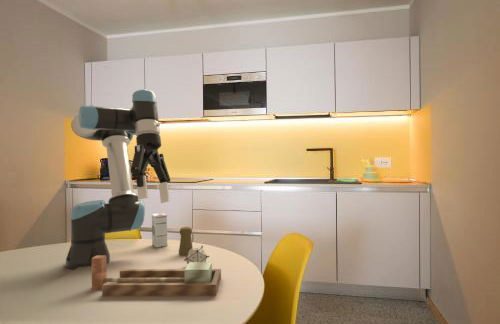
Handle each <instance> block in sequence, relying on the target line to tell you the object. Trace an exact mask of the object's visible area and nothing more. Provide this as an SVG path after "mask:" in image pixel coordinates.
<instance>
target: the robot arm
mask: <svg viewBox="0 0 500 324" xmlns="http://www.w3.org/2000/svg"><path fill="white" fill-rule="evenodd" d="M131 102H132V107H130V109H129V108H119V107H118V108H117V107H107V106H95V105H80V106H79V108H78V114H77V115H76V116H74V117H73V119H72V121H71V124H70V125H71V129H72V132H73V133H74V134H75V135H76V136H78V137H80V138H82V139H85V140H90V141H100V142H101V144H102V146H103V147H104V148H106V155H107V156H106V157H107V162H108V163H107V164H108V172H109V175H108V176H109V180H110V181H109V182H110V191H111V192H110V193H111V197H110V198H109V199H108V201H107V203H106V202H105V200H104V199H100V200H90V201H85V202H80V203H78V204H75V205H73V206H72V207H71V209H70V216H69V219H70V247H69V249H68V253H67V254H66V258H65V267H66V268H67V269H72V270H76V269H77V268H81V267H82V268H83V267H84V268H86V267H92V258H93V257H95V256H97V255H106V264H108V263H109V262H110V261H111V254H110V251H109V248H108V245H107V243H106V234H109V233H110V234H111V233H119V232H127V231H128V232H131V231H134V230H139V229H140V228H141V227H142V226H143V223H144V221H145V212H146V210H145V209H146V208H145V207H146V206H145V203H144V201H143V199H147V198H149V193H148V183H147V175H145V173H146V171H147V169H148V166H149V165H150V167H151V168H153V171H154V172H155V175H156V177H157V179H158V181H159V183H158V188H159V197H160V204H163V203H168V202H170V195H169V194H170V193H169V187H168V186H169V185H168V183H171V177H170V174H169V171H168V168H167V165H166V162H165V159H164V153H159V151H158V150H159V149H160V148H161V147H162V140H161V135H160V134H161V132H160V125H161V124H160V123H159V113H158V101H157V97H156V93H154V92H153V91H152V90H150V89H138V90H136V91H134V92H133V93H132V99H131ZM134 136H136V137H135V138H136V139H135V140H136V145H134V153H133V158H132V162H131V165H130V159H129V150H128V146H129V145H130V143H131V141H132V140H133V138H134ZM132 177H133V178H135V180H136V191H137V194H136V193H135V192H134V185H133V179H132Z"/></svg>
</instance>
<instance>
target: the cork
mask: <svg viewBox="0 0 500 324" xmlns="http://www.w3.org/2000/svg"><path fill="white" fill-rule="evenodd" d="M192 234H193V229H192V227H189V226H183V227H181V228H180V229H179V235H180V239H179V247H178V248H179V250H178V255H179V256H186V257H187V254H188V252H189V248H190V249H192V248H194V247H193V241H192ZM188 247H189V248H188Z"/></svg>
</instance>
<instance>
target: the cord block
mask: <svg viewBox="0 0 500 324" xmlns="http://www.w3.org/2000/svg"><path fill="white" fill-rule="evenodd" d="M107 264H108V263H106V255H97V256H95V257H93V258H92V266H91V289H92V290H102V285H103V284H104V283H117V282H185V283H212V269H213V262H212V261H206V262H189V264H187V265H186V267H185V268H184V269H185V270H184V271H185V278H120V277H107V269H108V268H107Z"/></svg>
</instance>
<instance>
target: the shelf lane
mask: <svg viewBox="0 0 500 324" xmlns="http://www.w3.org/2000/svg"><path fill="white" fill-rule="evenodd" d="M184 270H185V268H173V269H172V268H168V269H167V268H164V269H163V268H159V269H158V268H157V269H156V268H154V269H153V268H151V269H150V268H149V269H148V268H147V269H146V268H145V269H136V268H135V269H133V268H131V269H125V268H124V269H123V268H122V269H120V270H119V278H185V271H184ZM221 280H222V269H221V268H212V283H185V282H107V283H104V284H103V285H102V289H101V291H102V292H101V294H102V295H101V296H102V297H173V296H174V297H176V296H177V297H184V296H185V297H188V296H189V297H191V296H192V297H193V296H194V297H195V296H196V297H197V296H199V297H200V296H201V297H202V296H203V297H204V296H205V297H208V296H209V297H210V296H211V297H212V296H213V297H214V296H216V297H217V295H218V291H219V287H220V284H221Z"/></svg>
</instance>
